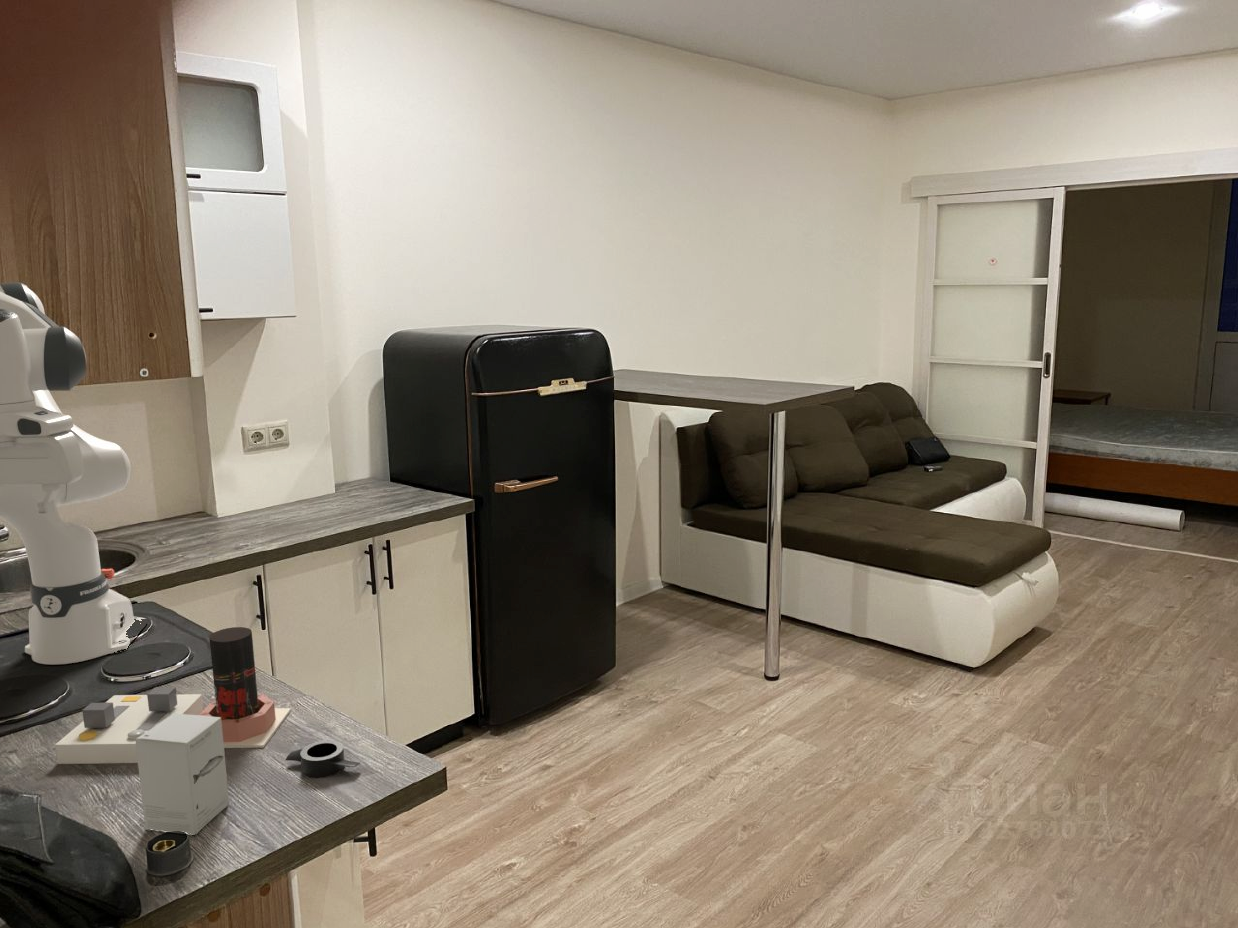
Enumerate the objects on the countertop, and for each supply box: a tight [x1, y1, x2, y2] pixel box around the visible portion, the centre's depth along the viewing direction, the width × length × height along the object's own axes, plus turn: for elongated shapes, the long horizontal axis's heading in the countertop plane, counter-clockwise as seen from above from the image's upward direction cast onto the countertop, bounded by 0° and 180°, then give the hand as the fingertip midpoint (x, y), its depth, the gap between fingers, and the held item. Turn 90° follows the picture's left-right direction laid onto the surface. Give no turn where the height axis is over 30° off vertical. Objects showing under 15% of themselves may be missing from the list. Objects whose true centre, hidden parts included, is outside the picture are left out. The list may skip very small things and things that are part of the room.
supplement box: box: [135, 713, 230, 836], centre depth 117 cm, size 7×7×13 cm
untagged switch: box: [146, 686, 177, 711], centre depth 141 cm, size 2×3×3 cm
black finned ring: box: [285, 739, 361, 779], centre depth 130 cm, size 8×10×3 cm
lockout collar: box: [199, 693, 292, 749], centre depth 142 cm, size 12×12×3 cm
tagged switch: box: [81, 702, 115, 728], centre depth 136 cm, size 2×3×3 cm
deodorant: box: [208, 626, 259, 720], centre depth 141 cm, size 6×6×15 cm
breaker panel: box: [54, 693, 205, 765], centre depth 140 cm, size 16×14×4 cm
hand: (15, 513), depth 137 cm, fingers open, 8 cm apart
